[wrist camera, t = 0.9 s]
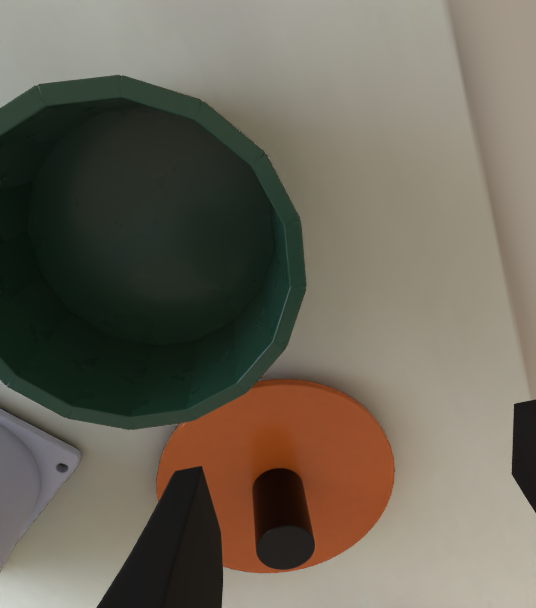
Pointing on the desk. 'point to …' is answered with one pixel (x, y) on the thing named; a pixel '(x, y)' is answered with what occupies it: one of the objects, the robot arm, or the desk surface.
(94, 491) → the desk surface
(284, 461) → the lid
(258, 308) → the tin
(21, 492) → the robot arm
